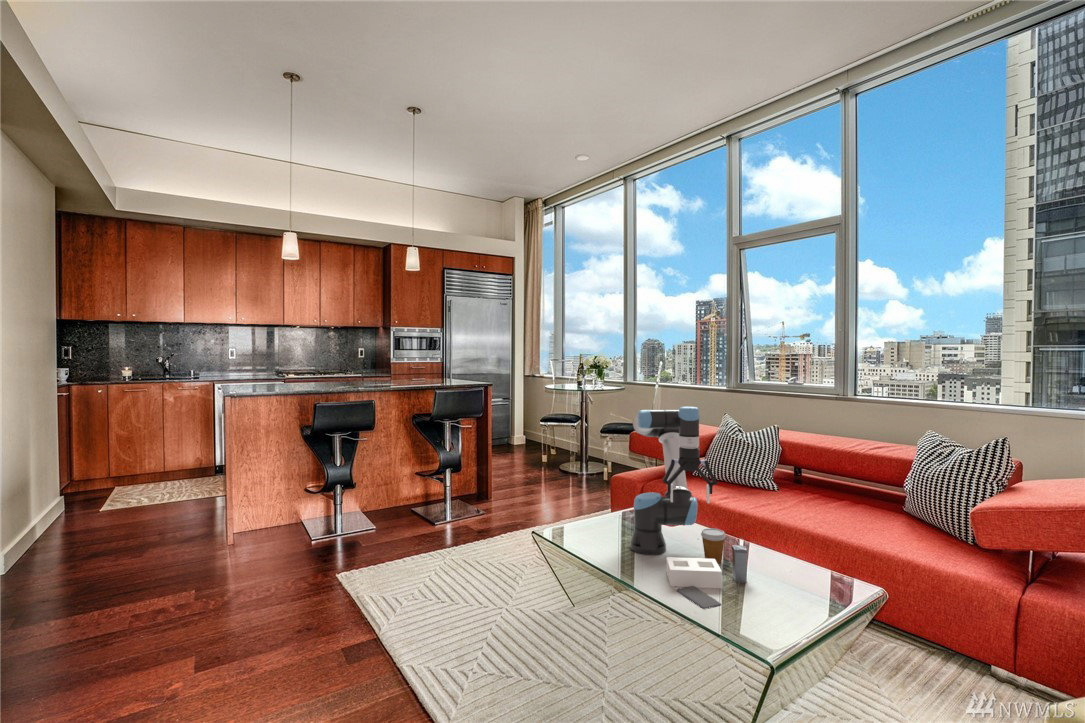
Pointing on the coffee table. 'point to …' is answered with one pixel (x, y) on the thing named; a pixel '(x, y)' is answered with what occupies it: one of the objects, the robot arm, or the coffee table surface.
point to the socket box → (694, 572)
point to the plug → (739, 563)
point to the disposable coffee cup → (713, 543)
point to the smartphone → (698, 597)
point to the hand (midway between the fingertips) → (689, 502)
